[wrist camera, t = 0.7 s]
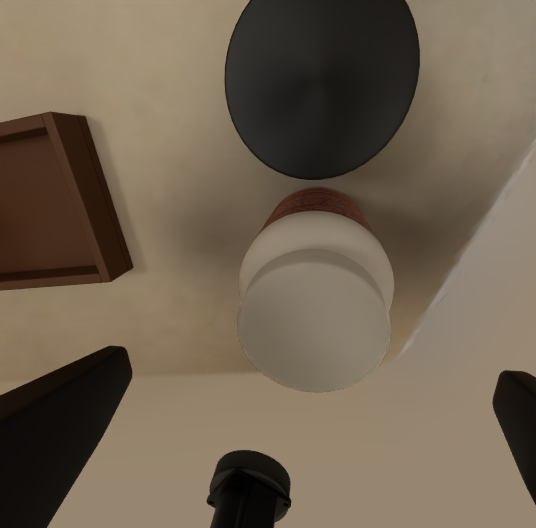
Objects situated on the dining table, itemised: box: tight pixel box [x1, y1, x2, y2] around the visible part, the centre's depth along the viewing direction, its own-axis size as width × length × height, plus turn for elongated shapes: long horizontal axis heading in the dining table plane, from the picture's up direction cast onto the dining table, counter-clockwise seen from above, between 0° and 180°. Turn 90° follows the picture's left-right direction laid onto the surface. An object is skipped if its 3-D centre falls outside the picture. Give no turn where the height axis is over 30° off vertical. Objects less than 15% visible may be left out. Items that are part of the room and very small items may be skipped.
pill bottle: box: [237, 188, 394, 392], centre depth 14 cm, size 6×6×11 cm
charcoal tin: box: [225, 0, 420, 180], centre depth 13 cm, size 6×6×8 cm
